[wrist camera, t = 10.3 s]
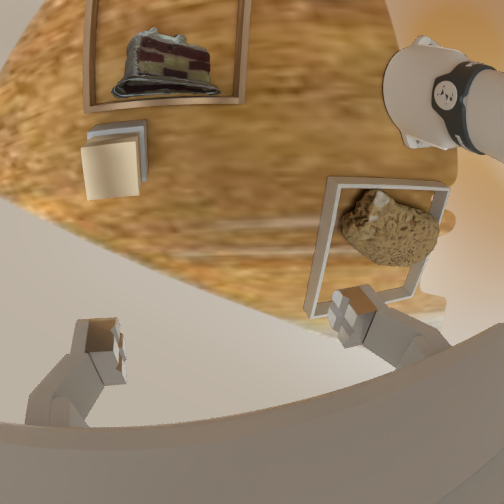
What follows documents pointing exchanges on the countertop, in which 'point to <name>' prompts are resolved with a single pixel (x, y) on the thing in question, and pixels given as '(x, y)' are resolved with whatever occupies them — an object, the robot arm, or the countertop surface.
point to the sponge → (389, 230)
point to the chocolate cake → (164, 67)
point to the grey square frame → (327, 227)
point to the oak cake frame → (91, 107)
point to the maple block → (112, 165)
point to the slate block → (125, 128)
